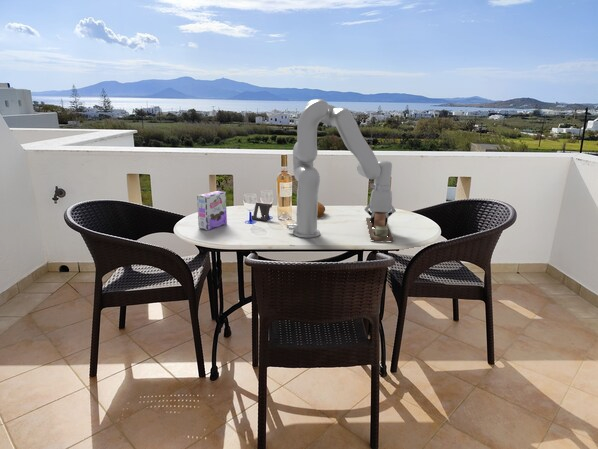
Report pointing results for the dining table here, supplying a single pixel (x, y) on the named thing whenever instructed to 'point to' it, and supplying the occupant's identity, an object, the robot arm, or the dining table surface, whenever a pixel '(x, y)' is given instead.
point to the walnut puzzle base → (379, 232)
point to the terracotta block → (379, 219)
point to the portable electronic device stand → (262, 211)
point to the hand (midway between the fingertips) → (378, 224)
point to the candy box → (212, 210)
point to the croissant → (320, 210)
